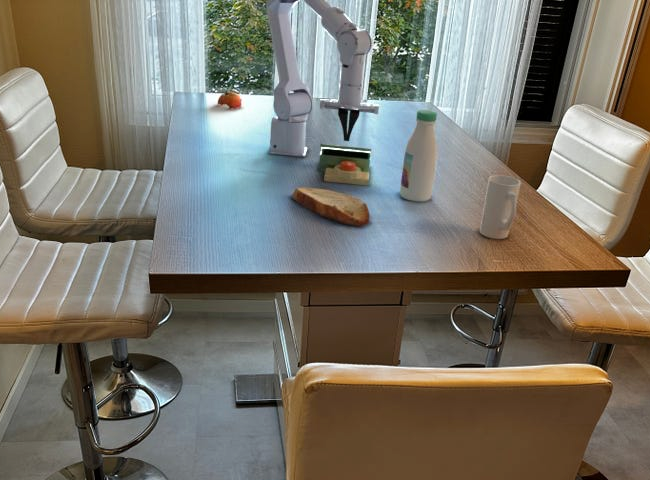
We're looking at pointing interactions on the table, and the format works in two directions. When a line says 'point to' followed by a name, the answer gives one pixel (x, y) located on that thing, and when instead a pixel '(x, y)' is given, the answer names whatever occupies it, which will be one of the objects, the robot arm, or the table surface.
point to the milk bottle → (420, 159)
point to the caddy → (343, 158)
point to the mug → (499, 206)
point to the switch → (347, 166)
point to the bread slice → (333, 205)
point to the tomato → (230, 100)
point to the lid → (345, 147)
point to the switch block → (346, 176)
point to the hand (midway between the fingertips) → (346, 140)
